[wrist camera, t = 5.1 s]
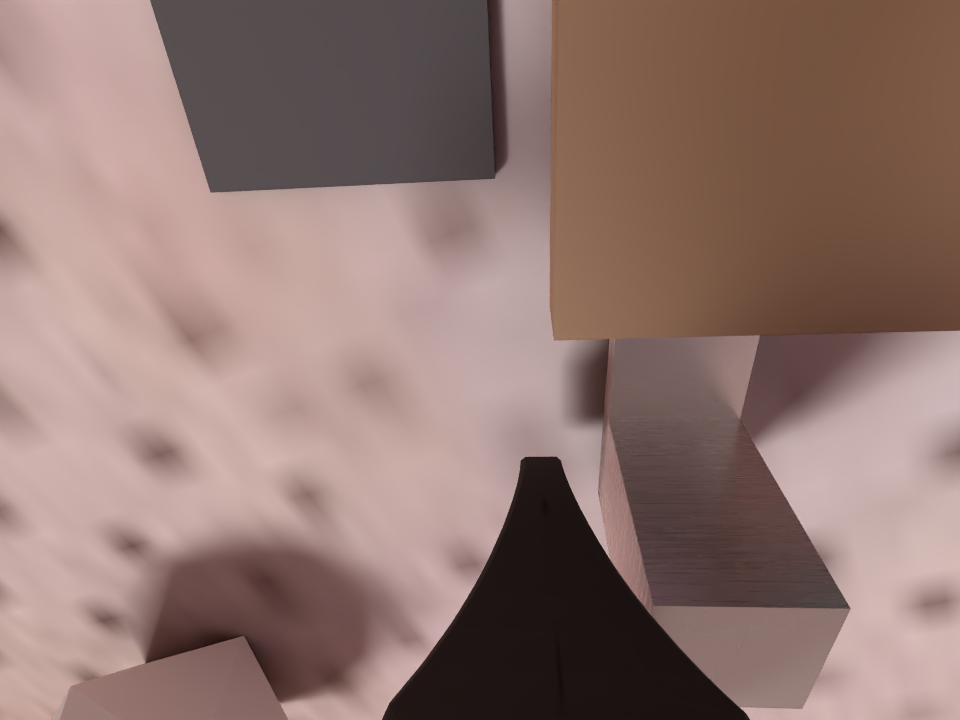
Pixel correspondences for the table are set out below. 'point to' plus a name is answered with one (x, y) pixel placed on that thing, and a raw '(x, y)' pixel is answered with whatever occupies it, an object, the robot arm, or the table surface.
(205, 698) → the die
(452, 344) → the table surface
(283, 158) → the dark grey plate
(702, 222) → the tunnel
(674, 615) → the hook
